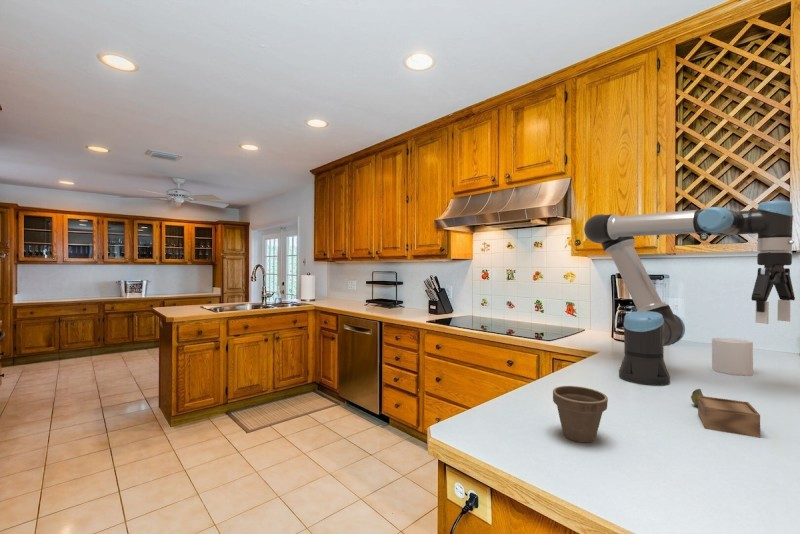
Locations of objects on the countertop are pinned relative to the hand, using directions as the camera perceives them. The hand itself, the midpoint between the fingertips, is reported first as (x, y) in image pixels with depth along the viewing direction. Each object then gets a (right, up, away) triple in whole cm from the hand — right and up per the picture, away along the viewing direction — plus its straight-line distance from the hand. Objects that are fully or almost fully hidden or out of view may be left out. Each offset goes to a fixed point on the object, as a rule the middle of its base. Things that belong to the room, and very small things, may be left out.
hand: (773, 322), depth 116 cm
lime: (-30, -23, -10) cm, 39 cm away
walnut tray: (-33, -22, -23) cm, 46 cm away
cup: (+12, -23, +28) cm, 39 cm away
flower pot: (-73, -22, -29) cm, 82 cm away
